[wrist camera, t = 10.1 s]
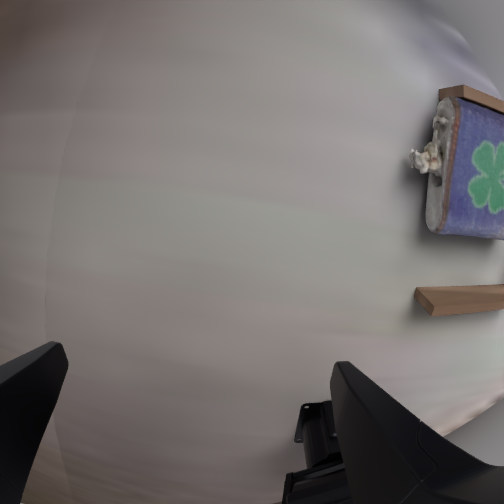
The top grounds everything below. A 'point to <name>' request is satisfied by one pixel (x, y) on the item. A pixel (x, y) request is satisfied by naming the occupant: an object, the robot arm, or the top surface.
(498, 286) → the frame
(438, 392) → the top surface
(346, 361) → the robot arm
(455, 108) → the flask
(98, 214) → the top surface
